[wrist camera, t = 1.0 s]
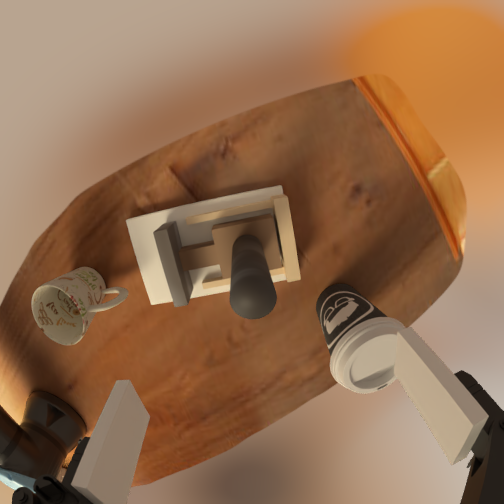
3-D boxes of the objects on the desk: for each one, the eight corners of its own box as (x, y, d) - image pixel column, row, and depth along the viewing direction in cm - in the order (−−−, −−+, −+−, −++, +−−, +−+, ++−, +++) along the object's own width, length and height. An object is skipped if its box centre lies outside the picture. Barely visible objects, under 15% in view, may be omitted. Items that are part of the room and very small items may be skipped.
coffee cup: (303, 334, 43) (329, 404, 29) (307, 274, 40) (341, 332, 26) (362, 329, 43) (404, 390, 29) (370, 271, 41) (425, 321, 26)
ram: (182, 289, 38) (152, 364, 23) (163, 223, 36) (114, 265, 20) (280, 270, 38) (307, 339, 23) (268, 201, 36) (291, 229, 20)
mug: (59, 263, 38) (22, 288, 28) (130, 249, 38) (100, 275, 28) (76, 312, 40) (46, 346, 31) (145, 305, 40) (123, 343, 31)
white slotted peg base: (153, 301, 40) (145, 315, 36) (128, 218, 37) (116, 225, 33) (295, 274, 40) (301, 287, 36) (280, 185, 37) (286, 187, 32)
